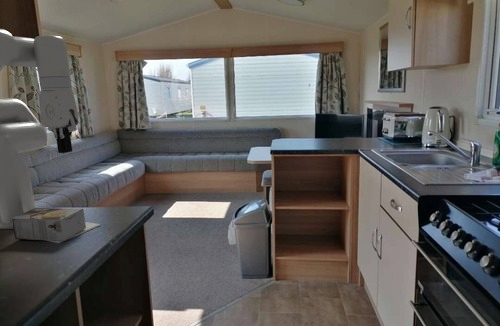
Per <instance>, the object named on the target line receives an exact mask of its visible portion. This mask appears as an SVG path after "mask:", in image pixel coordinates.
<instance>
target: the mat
mask: <svg viewBox="0 0 500 326" xmlns="http://www.w3.org/2000/svg"><path fill="white" fill-rule="evenodd" d="M85 225H86V228H85V229H84V230H82V231H81V232H79V233H77V234H76V235H74V236H72V237H71V238H69V239H67V240H70V239H72V238H74V237H77V236H79V235H82V234H84V233H86V232H88V231H91V230H93V229H96V228H98V227H101V226H102V225H101V223H94V222H89V221H85ZM67 240H66V241H67ZM45 241H46V242H49V243H50V242H51V243H56V244H60V243H63V242H64V241H59V240H45Z"/></svg>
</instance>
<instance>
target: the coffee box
mask: <svg viewBox="0 0 500 326" xmlns="http://www.w3.org/2000/svg"><path fill="white" fill-rule="evenodd" d="M84 212H85V210H84V208H60V207H59V208H58V207H57V208H47V207H46V208H45V207H44V208H43V207H39V208H38V207H35V209H32V210H30V211H28V212H25V213H23V214H21V215H18V216H16V217H14V218H12V221H13V229H12V230H13V235H14V239H15V240H30V241H31V240H33V241H37V240H38V241H46V240H59V241H63V242H65V241H67V239H68V240H70V239H72V238H73V237H72V236H74V235H76V234H77V233H79V232H81V231H82V230H84V229H85V228H86V225H85V222H86V218H85V213H84ZM71 237H72V238H71ZM69 238H70V239H69Z"/></svg>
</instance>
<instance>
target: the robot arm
mask: <svg viewBox="0 0 500 326" xmlns="http://www.w3.org/2000/svg"><path fill="white" fill-rule="evenodd" d="M67 49H68V48H67V42H66V40H65V39H64V37H62V36H58V35H45V34H44V35H38V36H35V38H31V37H24V36H13V35H12V33H10V32H9V31H7V30H6V29H3V28H0V72H2V71H3V69H4V68H5V67H20V68H21V67H25V68H27V67H28V68H29V67H30V68H37V74H38V82H39V86H40V87H39V89H40V91H39V110H40V111H39V112H40V121H39V120H38V118H37V117H36V116H35V114H34V113H33V112H32V110H31V109H30V108H29V107H28V106H27V104H26V103H24V102H23V101H22V100H21V99H18V98H14V97H13V98H12V97H3V98H0V218H1V219H0V229H1V230H13V221H12V218H14V217H16V216H18V215H21V214H23V213H25V212H28V211H30V210H32V209H35V208H36V202H35V198H34V191H33V185H32V179H31V174H30V168H29V166H28V164H27V162H26V161H25V160H24V159H23V158H22V157H21V156H20V154H22V153H27V152H33V151H38V150H40V149H43V148H44V147H45V146H46V145H47V142H48V134H47V132H46V129H45V128H47V130H48V131H49V132H51V133H53V136H54V138H55V140H56V146H57V153H59V154H67V153H71V152H73V147H72V137H73V132H76V131H77V130H78V128H77V126H78V125H79V112H78V107H77V102H76V98H75V95H74V92H73V86H72V78H71V71H70V64H69V57H68V50H67Z"/></svg>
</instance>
